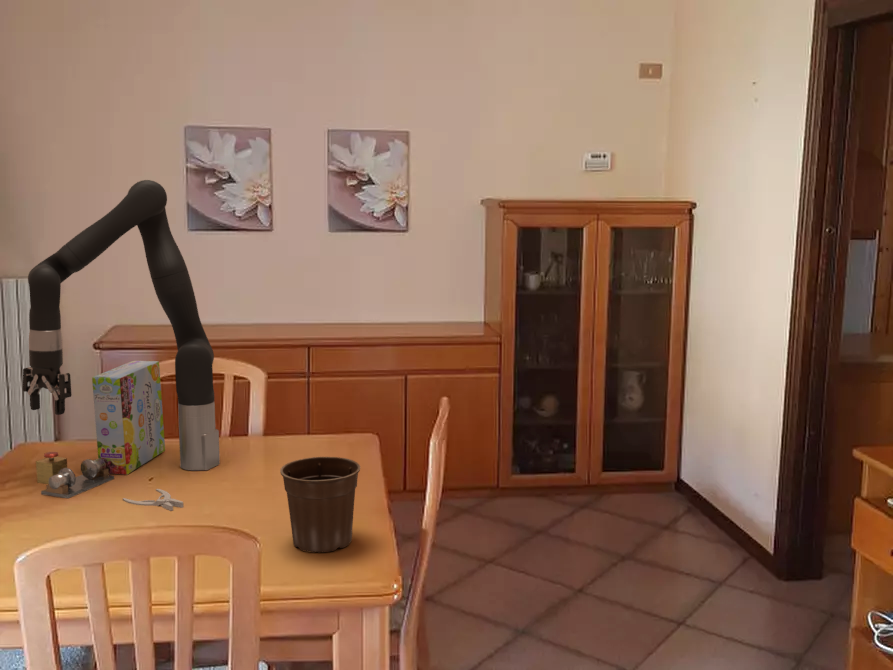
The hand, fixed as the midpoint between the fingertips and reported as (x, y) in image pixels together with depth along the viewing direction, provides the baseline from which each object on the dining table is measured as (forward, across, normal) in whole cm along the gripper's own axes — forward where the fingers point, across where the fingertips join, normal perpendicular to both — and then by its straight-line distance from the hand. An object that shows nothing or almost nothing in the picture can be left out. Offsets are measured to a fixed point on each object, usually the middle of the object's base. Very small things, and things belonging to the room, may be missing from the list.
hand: (47, 411), depth 228 cm
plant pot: (+15, -83, +2) cm, 85 cm away
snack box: (+17, -7, -21) cm, 28 cm away
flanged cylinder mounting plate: (+17, -10, 0) cm, 20 cm away
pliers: (+17, -36, -1) cm, 39 cm away
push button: (+18, -1, 0) cm, 18 cm away
